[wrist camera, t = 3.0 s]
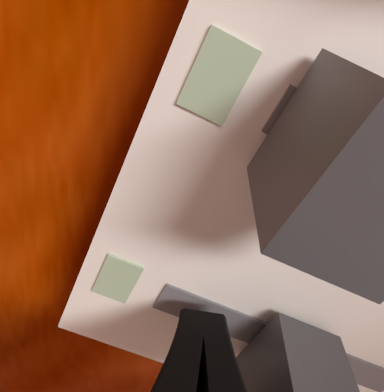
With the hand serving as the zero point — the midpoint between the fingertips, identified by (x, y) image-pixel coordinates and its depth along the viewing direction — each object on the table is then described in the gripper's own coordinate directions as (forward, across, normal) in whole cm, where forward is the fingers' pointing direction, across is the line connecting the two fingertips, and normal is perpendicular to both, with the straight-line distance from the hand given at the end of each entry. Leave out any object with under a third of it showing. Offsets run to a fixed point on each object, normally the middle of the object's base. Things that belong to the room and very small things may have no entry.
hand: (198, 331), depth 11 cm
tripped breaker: (+1, -3, +1) cm, 3 cm away
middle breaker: (+1, -2, -7) cm, 7 cm away
